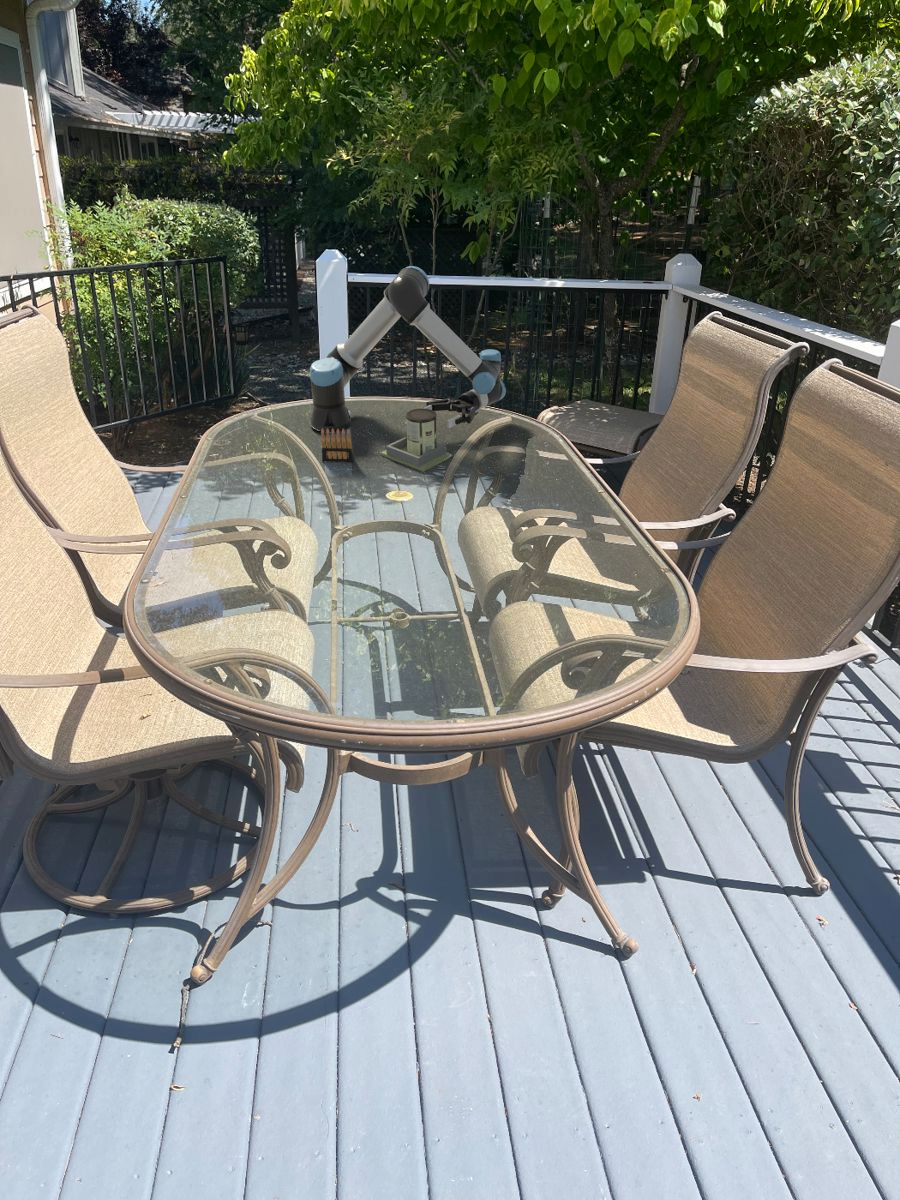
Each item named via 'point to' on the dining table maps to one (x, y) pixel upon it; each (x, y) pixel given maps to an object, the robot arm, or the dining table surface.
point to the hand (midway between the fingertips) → (433, 419)
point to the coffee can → (421, 431)
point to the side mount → (422, 462)
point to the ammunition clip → (337, 447)
